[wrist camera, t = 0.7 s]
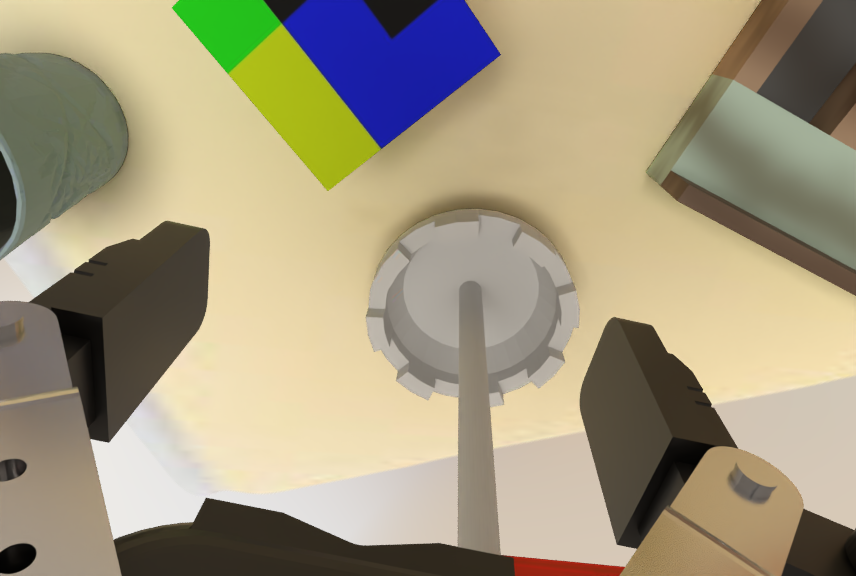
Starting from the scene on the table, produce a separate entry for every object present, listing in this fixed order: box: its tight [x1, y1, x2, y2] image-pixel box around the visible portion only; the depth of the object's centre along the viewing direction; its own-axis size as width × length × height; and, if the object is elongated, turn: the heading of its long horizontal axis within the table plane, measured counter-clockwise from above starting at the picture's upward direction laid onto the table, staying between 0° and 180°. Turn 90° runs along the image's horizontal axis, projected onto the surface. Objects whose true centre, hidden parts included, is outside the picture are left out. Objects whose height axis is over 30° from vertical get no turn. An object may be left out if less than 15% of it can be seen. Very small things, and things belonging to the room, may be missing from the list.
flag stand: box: [366, 209, 625, 576], centre depth 27 cm, size 13×13×30 cm
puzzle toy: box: [172, 0, 501, 191], centre depth 30 cm, size 10×10×10 cm
